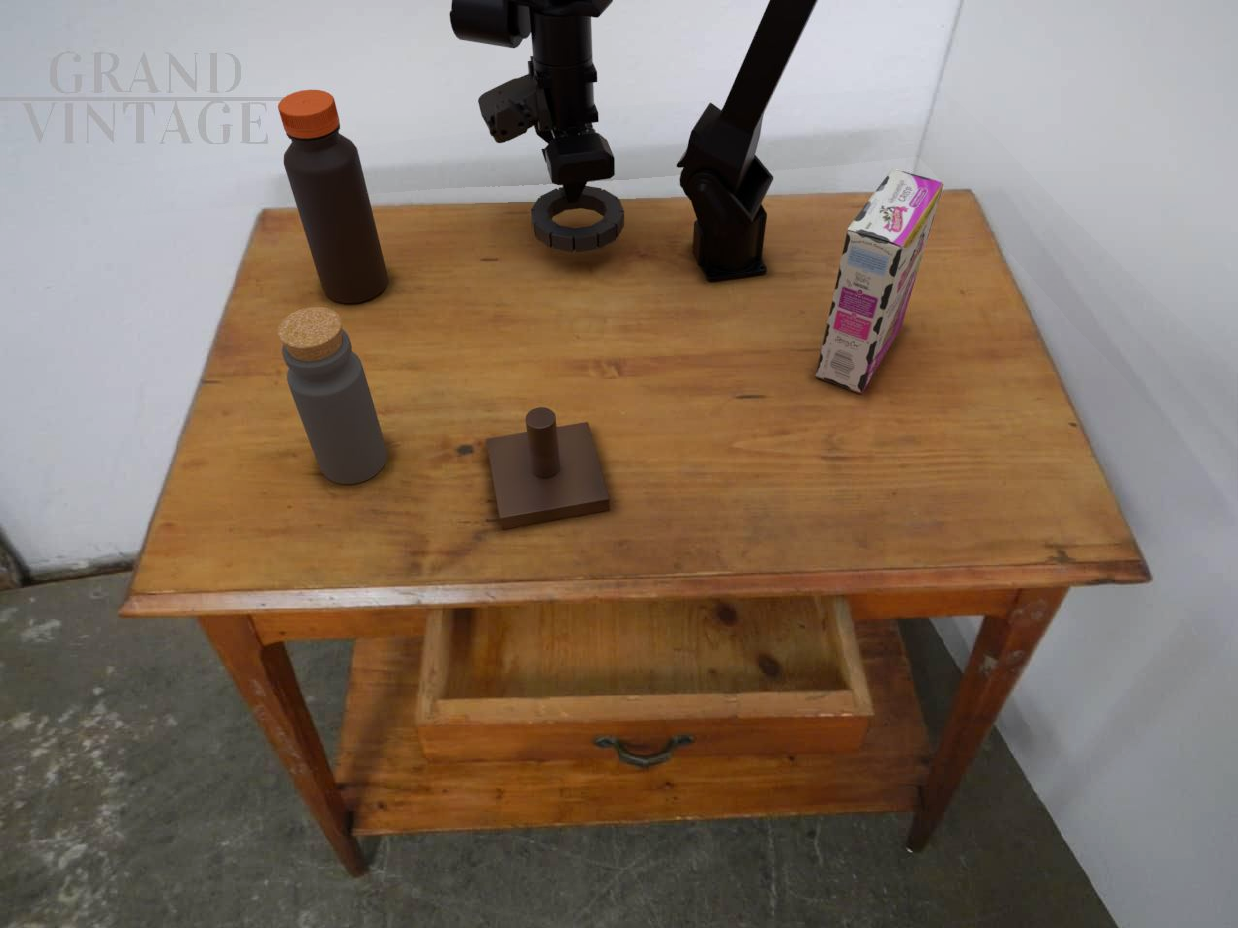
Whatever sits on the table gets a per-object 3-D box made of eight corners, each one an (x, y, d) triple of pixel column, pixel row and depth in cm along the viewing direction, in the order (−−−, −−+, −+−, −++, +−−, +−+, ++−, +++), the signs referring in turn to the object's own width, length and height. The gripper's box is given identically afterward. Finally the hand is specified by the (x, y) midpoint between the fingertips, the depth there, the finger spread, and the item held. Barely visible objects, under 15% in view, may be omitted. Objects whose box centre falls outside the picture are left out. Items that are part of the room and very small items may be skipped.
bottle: (373, 490, 79) (330, 356, 68) (308, 480, 80) (255, 346, 69) (397, 440, 83) (361, 306, 72) (335, 431, 84) (289, 297, 72)
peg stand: (588, 433, 83) (585, 370, 78) (609, 510, 77) (608, 448, 72) (487, 450, 82) (477, 388, 76) (501, 529, 76) (491, 468, 70)
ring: (612, 195, 103) (612, 180, 102) (632, 245, 97) (632, 230, 96) (526, 206, 102) (525, 191, 101) (540, 257, 96) (539, 243, 94)
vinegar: (392, 263, 100) (349, 82, 85) (385, 303, 96) (339, 119, 81) (328, 266, 100) (274, 85, 85) (318, 307, 95) (259, 123, 80)
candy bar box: (864, 397, 86) (903, 247, 73) (813, 378, 87) (843, 229, 75) (905, 328, 92) (947, 179, 80) (856, 312, 94) (890, 164, 82)
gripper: (467, 21, 95) (486, 161, 106) (491, 110, 82) (508, 257, 94) (576, 10, 96) (582, 149, 108) (614, 96, 84) (617, 242, 96)
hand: (570, 196), depth 101 cm, fingers closed on ring, 2 cm apart
